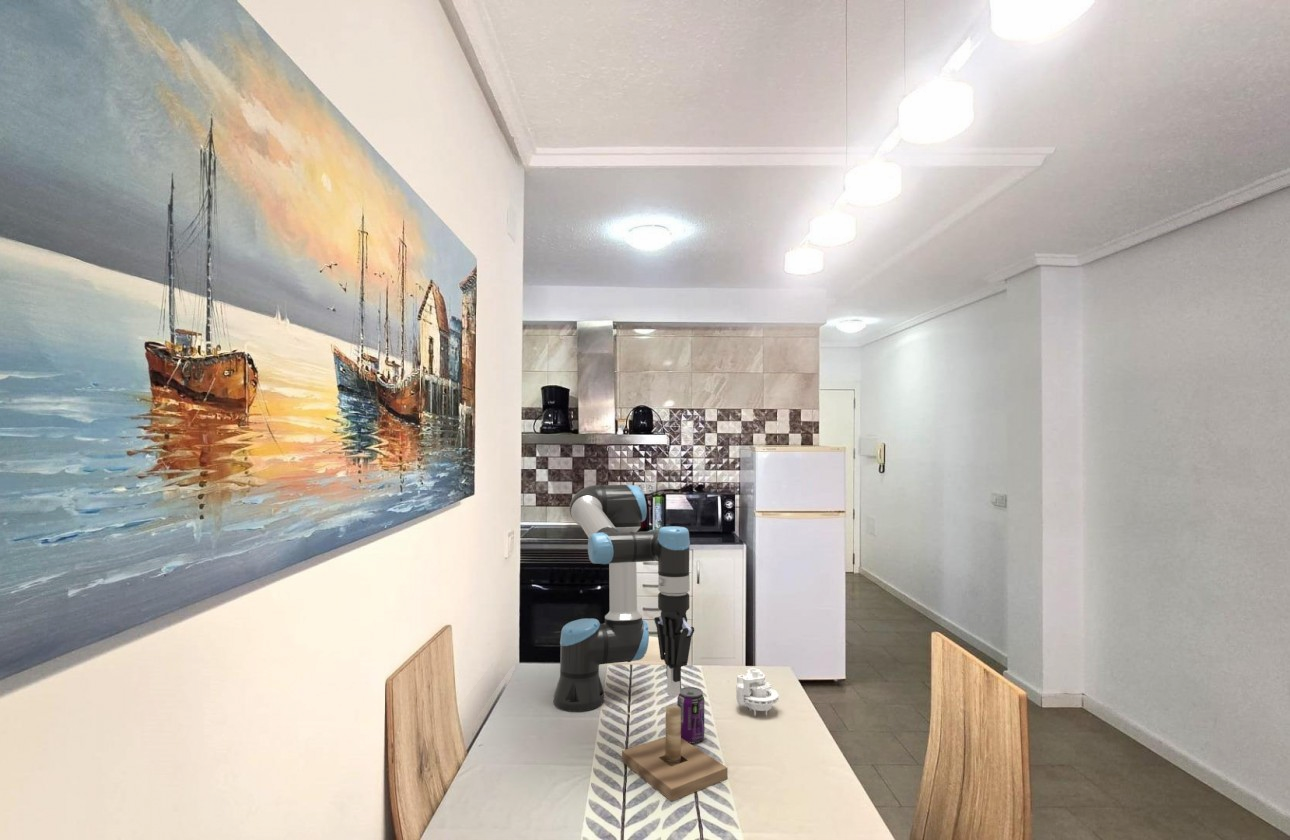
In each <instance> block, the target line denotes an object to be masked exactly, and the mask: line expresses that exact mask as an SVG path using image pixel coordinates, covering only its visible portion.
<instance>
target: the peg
mask: <svg viewBox="0 0 1290 840" xmlns="http://www.w3.org/2000/svg"><path fill="white" fill-rule="evenodd" d="M664 737H665V760H666V761H667V764H668V765H670V766H674V765H677V764H679V762H680V761H681V708H680V707H679V706H677V705H674V704H673V705H668V706H666V707H665V736H664Z"/></svg>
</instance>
